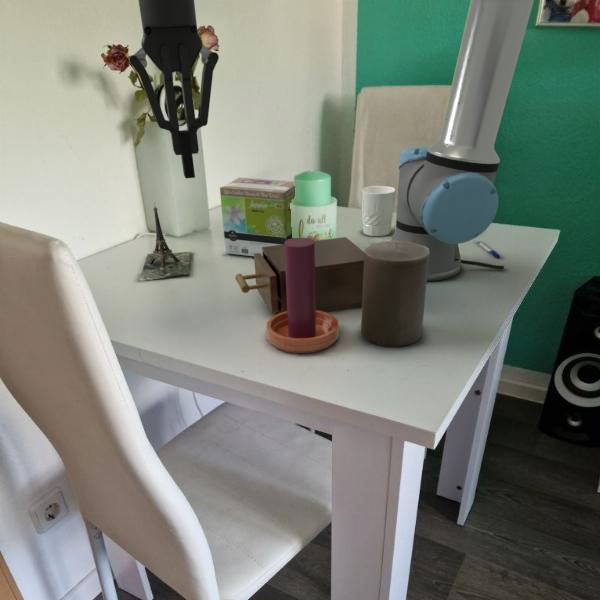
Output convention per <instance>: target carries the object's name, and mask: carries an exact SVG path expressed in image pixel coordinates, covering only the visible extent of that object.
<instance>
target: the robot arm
mask: <svg viewBox="0 0 600 600" xmlns="http://www.w3.org/2000/svg"><path fill="white" fill-rule="evenodd" d="M137 1H138V7H139V14H140V18H141V26H142V39H141V44H140V45H141V47H140V48H139V49H138V50H137V51H136V52H135V53H133V54H130V56H129V57H128V62H129V64H130V65H131V66H132V68H133V69H134V70H135V71H136V73H137V75H138V76H139V79H140V82H141V84H142V87H143V89H144V92H145V95H146V97H147V100H148V103H149V106H150V108H151V110H152V113H153V116H154V119H155V121H156V124H157V126H158V127H159V128H160V129H161V130H165V131H169V133H170V137H171V144H172V151H173V153H174V155H175V156H180V157H181V165H182V172H183V176H184V178H185V179H195V178H196V173H195V164H194V157H193V155H196V154H199V151H200V149H199V141H198V130H200V128H202V127H206V126H207V125H208V124H209V123H208V122H209V112H210V105H211V97H212V96H211V95H212V94H211V93H212V86H213V76H214V71H215V68H216V67H217V64H218V62H219V59H220V56H219V54H218V53H217V52H215V51H212V50H211V49H210V48H208V47H206V46H205V45H204V44H203V40H202V37H201V36H200V34H199V31H198V23H197V15H196V5H195V0H137ZM534 2H535V0H470V2H469V7H468V11H467V15H466V19H465V25H464V29H463V32H462V33H463V34H462V37H461V42H460V47H459V51H458V55H457V60H456V65H455V69H454V73H453V78H452V82H451V86H450V91H449V94H448V95H449V96H448V99H447V104H446V109H445V113H444V118H443V121H442V126H441V131H440V134H439V135H440V136H439V138H438V139H437V140H436V141H435V142H434V143H433V144H431V145H429V146H415V147H414V146H413V147H407V148H404V150H402V151H401V153H400V159H399V164H398V170H399V171H398V186H397V200H396V204H397V205H396V217H395V219H396V221H395V229H394V233H393V235H392V237H391V240H390V241H402V242H412V243H417V244H419V245H423V246H426V247H427V248H429V263H428V274H427V282H430V281H433V282H434V281H441V280H442V281H443V280H445V279H450V278H452V277H455V276H457V275H458V274H459V273H460V270H461V266H462V265H471V266H476V267H483V268H489V269H493V270H504V269H505V265H500V264H499V265H498V264H492V263H486V262H480V261H473V260H466V259H462V258H461V257H462V256H461V253H460V252H461V251H460V248H459V245H460V244H464V243H468V242H470V241H472V240H475V238H477V237H479V236H480V235H482V234H483V233H484V232H485V231H486V230H488V228H489V227H490V225H492V222H493V221H494V219H495V217H496V215H497V212H498V208H499V195H498V192H497V187H496V186H495V180H496V176H497V172H498V169H499V167H500V166H499V165H500V161H501V159H500V157H499V155H498V153H497V151H496V150H495V144H496V140H497V136H498V132H499V129H500V125H501V122H502V117H503V114H504V110H505V107H506V103H507V99H508V96H509V91H510V88H511V85H512V81H513V77H514V74H515V70H516V68H517V63H518V60H519V55H520V53H521V47H522V45H523V41H524V37H525V34H526V31H527V27H528V24H529V19H530V16H531V12H532V9H533V5H534ZM199 55H200V62H201V64H202V65H203V67H202V72H201V79H200V80H201V81H200V91H199V100H198V101H199V102H198V112H197V117H196V113H195V104H194V96H193V95H194V94H193V87H192V86H193V85H192V76H191V70H192V68H193V67H194V65H195V63H196V62H197V59H198V57H199ZM146 57H148V58H149V59H150V61H151V62H152V63H153V64H154V65H155V67H156V68H157V70H159V71H160V72H161V77H162V81H163V82H162V83H163V89H164V97H165V102H166V110H167V117H168V119H166V118H165V116H164V113H163V111H162V108H161V106H160V103H159V99H158V97H157V94H156V92H155V89H154V86H153V84H152V81H151V78H150V76H149V73H148V71H147V69H146V68H147V67H148V61H147V58H146ZM176 72H178V73H179V79H180V85H181V93H182V100H183V108H184V117H185V124H186V130H183V129H182V130H180V124H179V123H180V122H179V116H178V109H177V101H176V93H175V86H174V85H175V84H174V75H173V73H176Z"/></svg>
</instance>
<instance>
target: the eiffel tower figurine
mask: <svg viewBox="0 0 600 600" xmlns="http://www.w3.org/2000/svg"><path fill="white" fill-rule="evenodd" d="M153 205H154V207H153V212H154V220H155V233H156V234H155V235H156V239H155V242H156V243H155V248H154V250H152V253H147V254H146V257H145V261H144V264H143V267H142V270H141V274H140V277H139V282H143V281H150V280H151V281H152V280H159V279H165V278H169V277H170V278H171V277H175V276H176V277H177V276H182V275H189V272H190V264H191V256H192V251H183V252H182V251H181V252H173V251H172V249H170V248H169V246H168V244H167V242H166V239H165V237H164V234H163V230H162V227H161V223H160V222H161V221H160V218H159V213H158V208H157V207H156V203H155V202H153Z"/></svg>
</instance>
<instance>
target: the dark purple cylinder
mask: <svg viewBox="0 0 600 600" xmlns="http://www.w3.org/2000/svg"><path fill="white" fill-rule="evenodd" d="M314 241H315V240H314V239H313V238H309V237H302V238H292V239H288V240H286V241H285V243H284V245H285V267H286V290H287V312H288V335H289V337H290V338H312V337H315V336H316V304H315V242H314Z"/></svg>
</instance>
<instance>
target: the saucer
mask: <svg viewBox="0 0 600 600" xmlns="http://www.w3.org/2000/svg"><path fill="white" fill-rule="evenodd" d="M265 330H266V338H267V340H268V342H269V343H270V344H271V345H273V346H274V347H275V348H276V349H279V350H281V351H284V352H287V353H293V354H311V353H316V352H320V351H322V350H325V349H327V348H329V347H330V346H331V345H333V344H334V343H335V342H336V341H337V340H338V338H339V335H340V334H339V333H340V332H339V331H340V324H339V320H338V319H337V317H336V316H334V315H333V314H331V313H329V312H328V311H326V312H323V311H320V310H316V336H315V337H312V338H290V337H289V335H288V312H287V311H285V312H282V313H279V312H278V313H276V314H275V315H273V316H271V317H270V319H269V320H267V322H266V329H265Z"/></svg>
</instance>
